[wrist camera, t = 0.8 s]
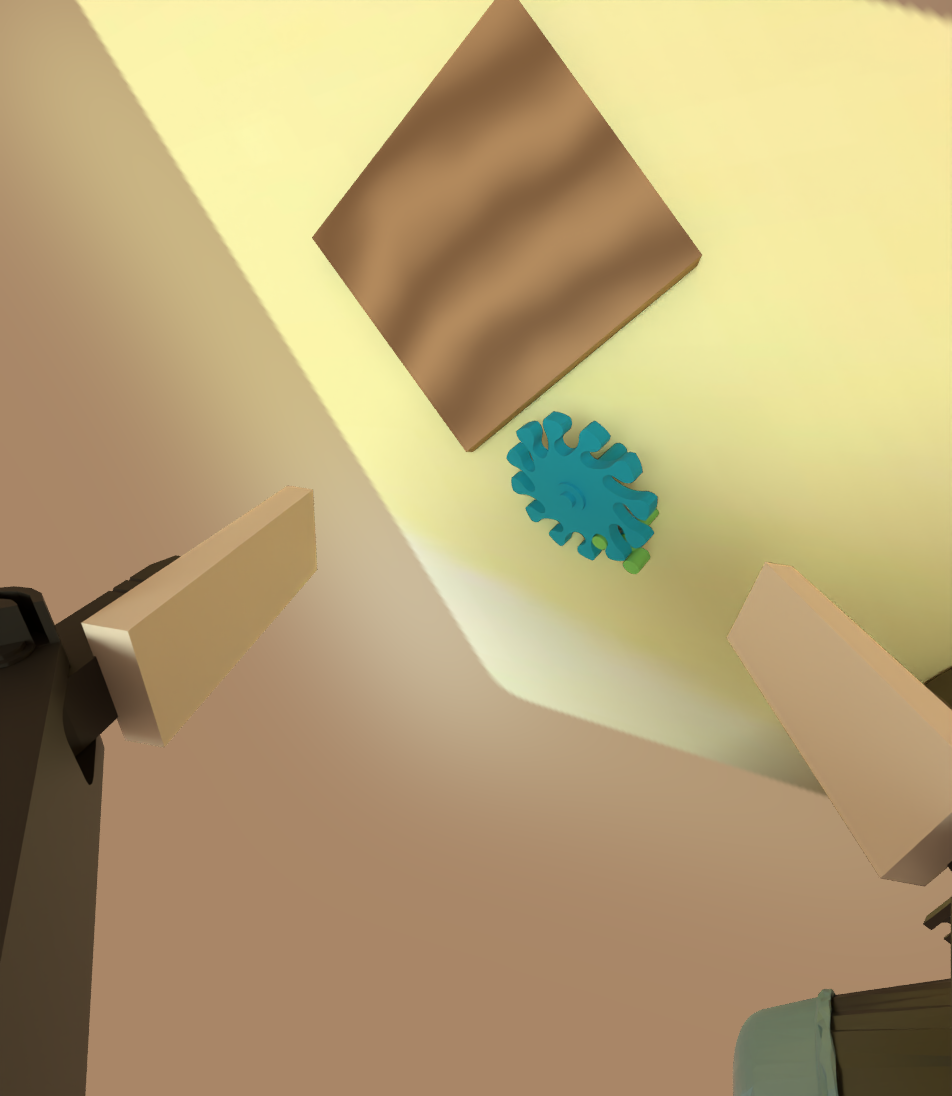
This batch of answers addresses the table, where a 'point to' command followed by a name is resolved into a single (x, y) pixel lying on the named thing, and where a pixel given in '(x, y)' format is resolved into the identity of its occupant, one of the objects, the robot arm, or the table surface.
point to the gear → (585, 490)
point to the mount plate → (502, 230)
